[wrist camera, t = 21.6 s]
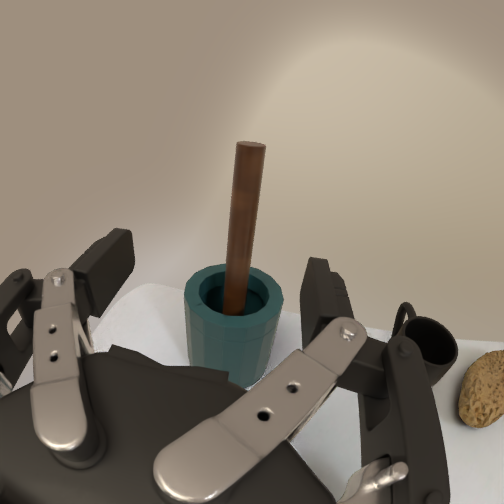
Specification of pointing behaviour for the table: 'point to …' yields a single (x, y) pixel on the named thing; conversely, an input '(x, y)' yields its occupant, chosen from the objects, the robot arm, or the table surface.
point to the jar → (231, 324)
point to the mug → (427, 341)
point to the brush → (242, 224)
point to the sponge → (483, 391)
